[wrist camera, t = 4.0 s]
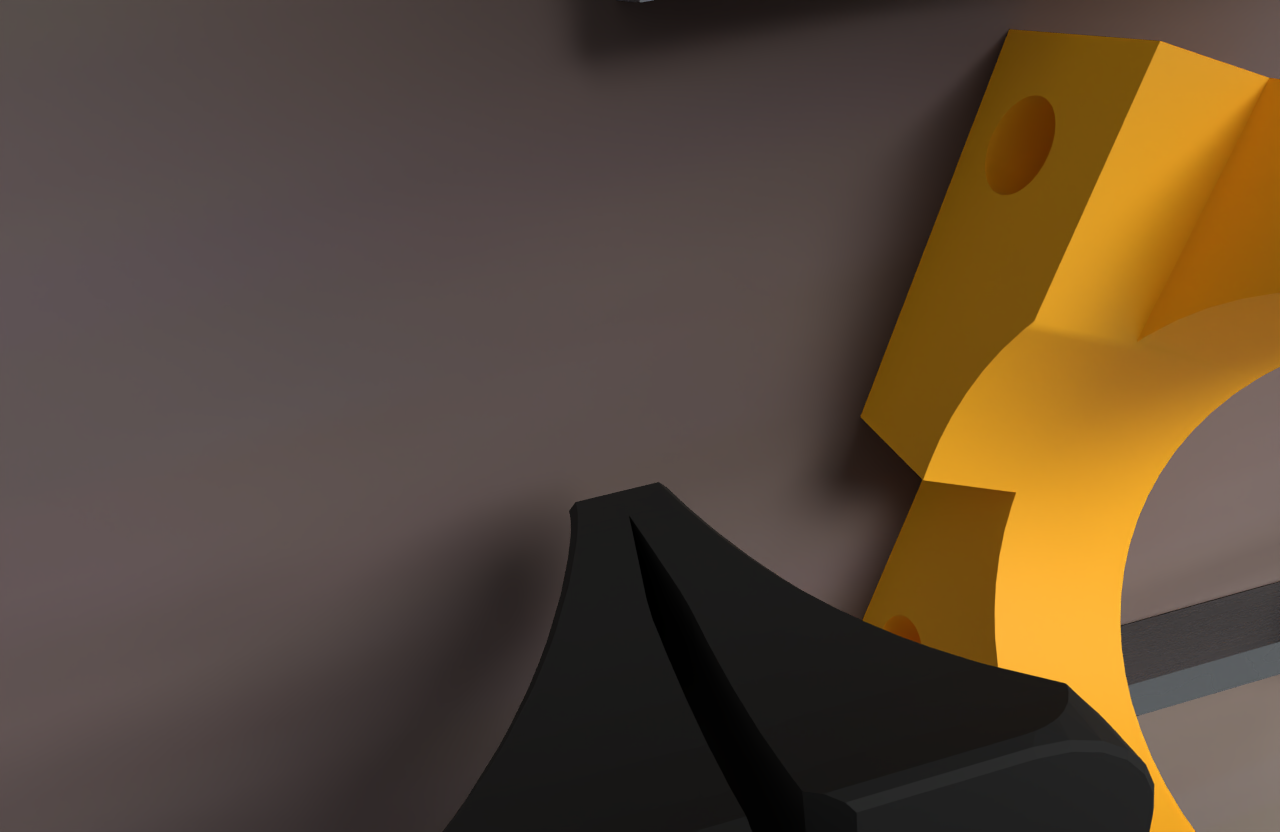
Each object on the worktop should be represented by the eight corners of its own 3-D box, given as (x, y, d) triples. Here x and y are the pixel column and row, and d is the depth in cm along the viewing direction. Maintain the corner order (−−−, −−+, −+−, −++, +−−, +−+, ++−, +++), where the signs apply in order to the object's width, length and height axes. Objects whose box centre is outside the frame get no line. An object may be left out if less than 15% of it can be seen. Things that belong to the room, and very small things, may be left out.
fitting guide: (725, 787, 19) (747, 847, 17) (597, -132, 11) (620, -147, 10) (1346, 609, 21) (1408, 651, 19) (1624, -282, 13) (1760, -312, 11)
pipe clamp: (1002, 29, 13) (1438, 62, 7) (1219, 98, 14) (1732, 172, 9) (763, 655, 18) (919, 971, 12) (943, 666, 19) (1161, 957, 13)
